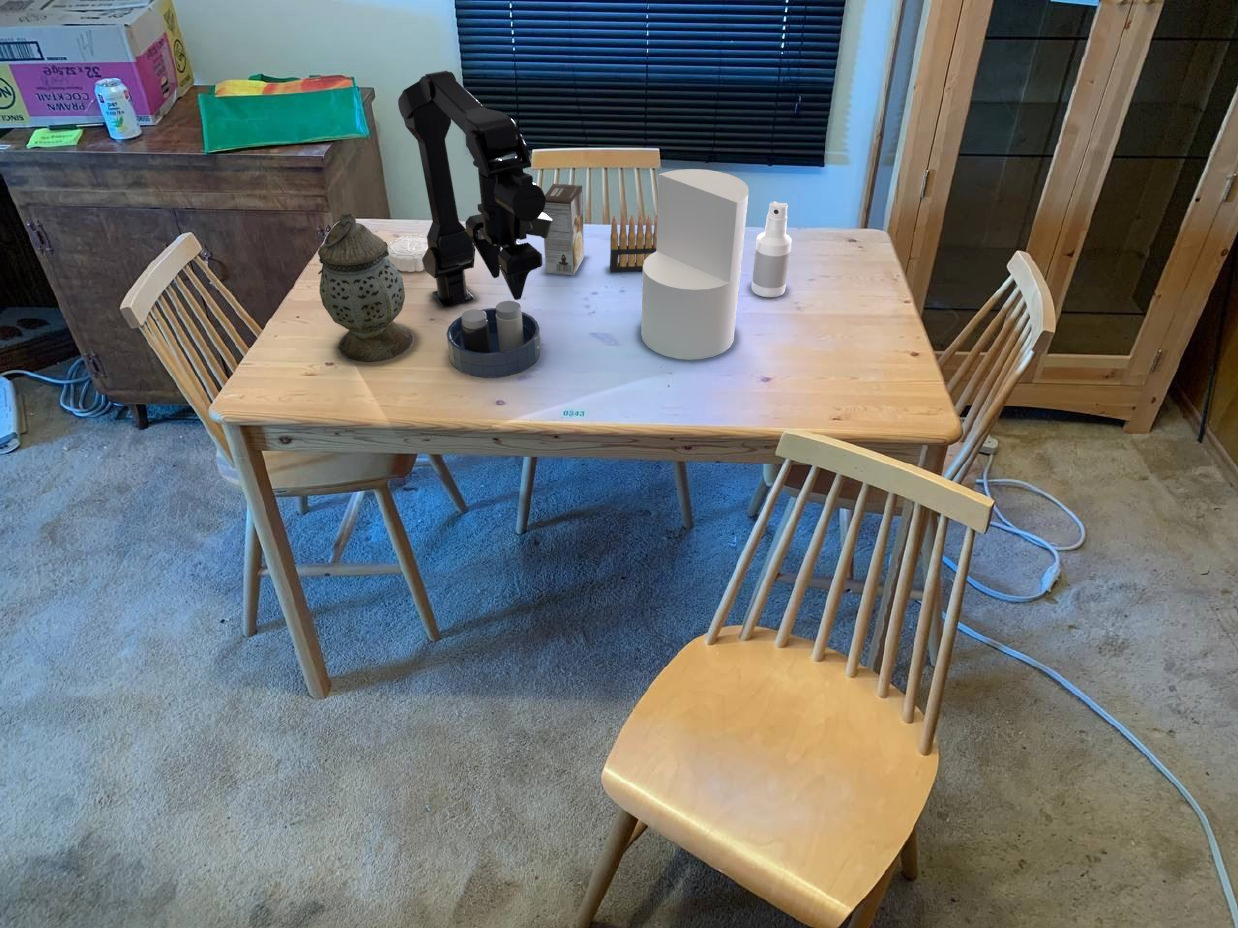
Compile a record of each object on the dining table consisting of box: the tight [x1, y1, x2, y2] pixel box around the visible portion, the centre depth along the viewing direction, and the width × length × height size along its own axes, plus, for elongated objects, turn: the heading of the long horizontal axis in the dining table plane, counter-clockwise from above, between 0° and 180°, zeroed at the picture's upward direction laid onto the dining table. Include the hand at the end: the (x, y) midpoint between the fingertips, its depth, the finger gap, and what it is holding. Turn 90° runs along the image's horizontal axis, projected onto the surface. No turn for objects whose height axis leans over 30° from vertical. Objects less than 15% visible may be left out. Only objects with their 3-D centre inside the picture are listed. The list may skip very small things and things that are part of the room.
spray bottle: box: [750, 200, 793, 298], centre depth 166 cm, size 7×7×18 cm
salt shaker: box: [495, 300, 524, 352], centre depth 151 cm, size 5×5×8 cm
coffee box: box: [543, 183, 585, 276], centre depth 176 cm, size 9×6×16 cm
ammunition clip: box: [609, 214, 657, 274], centre depth 175 cm, size 11×2×12 cm, turn 94°
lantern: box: [317, 211, 415, 363], centre depth 147 cm, size 14×14×25 cm
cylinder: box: [640, 168, 750, 361], centre depth 149 cm, size 17×17×28 cm
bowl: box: [446, 307, 542, 378], centre depth 151 cm, size 16×16×5 cm
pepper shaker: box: [460, 308, 491, 353], centre depth 149 cm, size 5×5×8 cm
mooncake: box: [386, 234, 428, 273], centre depth 181 cm, size 12×12×4 cm
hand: (506, 288), depth 146 cm, fingers open, 9 cm apart
